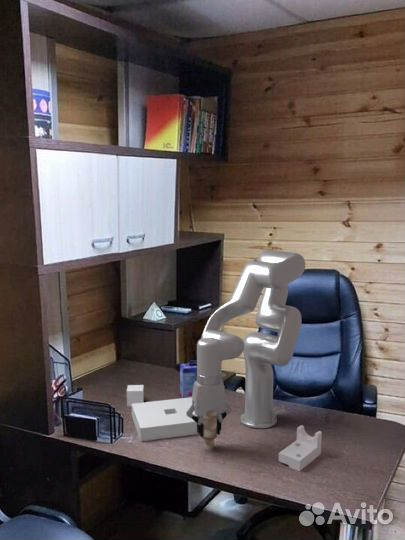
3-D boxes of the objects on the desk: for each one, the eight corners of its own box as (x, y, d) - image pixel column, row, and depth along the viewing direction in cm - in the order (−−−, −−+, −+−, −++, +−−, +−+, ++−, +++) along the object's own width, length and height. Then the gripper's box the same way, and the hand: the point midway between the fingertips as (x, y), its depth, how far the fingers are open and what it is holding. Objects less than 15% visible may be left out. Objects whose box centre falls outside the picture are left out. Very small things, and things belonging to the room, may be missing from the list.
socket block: (196, 408, 201) (196, 396, 200) (212, 432, 182) (212, 419, 181) (131, 415, 194) (131, 403, 194) (140, 441, 175) (140, 428, 175)
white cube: (127, 406, 203) (126, 391, 202) (128, 400, 208) (127, 385, 207) (143, 406, 203) (142, 390, 202) (143, 399, 209) (143, 384, 208)
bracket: (300, 447, 172) (301, 425, 171) (320, 454, 168) (321, 431, 166) (278, 464, 162) (279, 440, 161) (299, 472, 158) (300, 447, 156)
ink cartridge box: (182, 398, 210) (182, 362, 207) (179, 393, 215) (178, 358, 212) (207, 395, 213) (207, 360, 210) (203, 390, 218) (203, 355, 215)
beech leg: (214, 443, 174) (214, 404, 172) (219, 450, 169) (219, 411, 167) (198, 445, 173) (198, 406, 171) (203, 453, 168) (203, 413, 166)
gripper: (231, 371, 173) (231, 425, 176) (179, 376, 169) (179, 431, 172) (239, 379, 166) (238, 435, 169) (185, 385, 162) (185, 442, 165)
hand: (209, 433), depth 170 cm, fingers closed on beech leg, 4 cm apart
